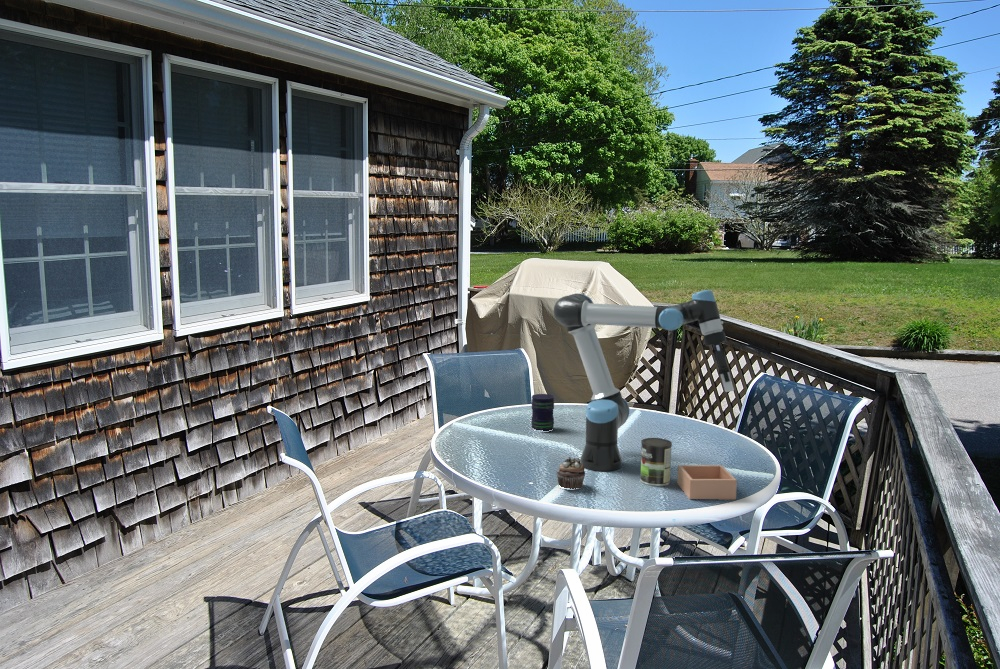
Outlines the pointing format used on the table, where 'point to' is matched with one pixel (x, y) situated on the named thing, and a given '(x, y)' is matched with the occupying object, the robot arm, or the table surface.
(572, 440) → the table surface
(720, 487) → the planter box
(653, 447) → the coffee can
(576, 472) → the cupcake
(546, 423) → the storage jar
